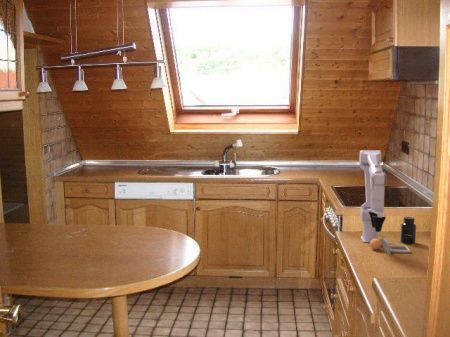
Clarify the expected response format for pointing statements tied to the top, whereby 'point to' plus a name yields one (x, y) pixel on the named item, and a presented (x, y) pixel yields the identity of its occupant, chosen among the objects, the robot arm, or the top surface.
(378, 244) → the coral ball
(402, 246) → the mat
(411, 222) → the supplement bottle
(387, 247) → the grey wall
